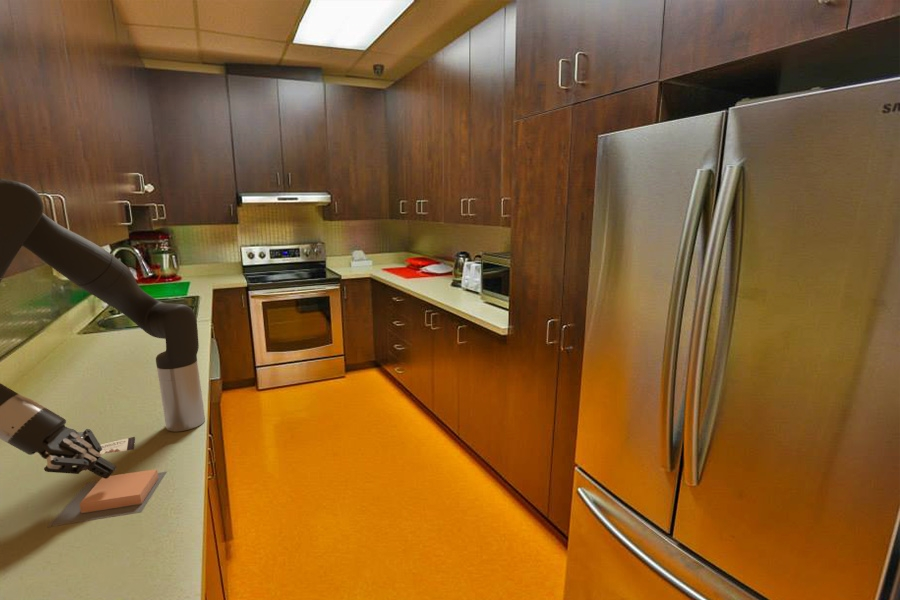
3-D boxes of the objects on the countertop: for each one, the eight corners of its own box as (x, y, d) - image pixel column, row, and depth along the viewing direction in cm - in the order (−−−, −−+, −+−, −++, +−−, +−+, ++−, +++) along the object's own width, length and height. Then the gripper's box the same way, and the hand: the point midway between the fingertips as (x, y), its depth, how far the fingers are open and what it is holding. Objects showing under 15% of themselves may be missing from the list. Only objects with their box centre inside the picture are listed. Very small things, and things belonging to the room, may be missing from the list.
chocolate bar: (79, 483, 96) (90, 446, 110) (80, 487, 96) (90, 450, 111) (131, 469, 100) (134, 436, 115) (132, 473, 100) (135, 440, 115)
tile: (102, 476, 93) (157, 469, 96) (104, 486, 94) (158, 478, 96) (79, 503, 85) (140, 494, 87) (81, 513, 85) (141, 504, 87)
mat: (87, 486, 95) (87, 482, 95) (167, 474, 99) (167, 471, 99) (48, 530, 82) (47, 527, 82) (141, 515, 85) (141, 512, 85)
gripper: (15, 424, 78) (109, 477, 83) (59, 395, 90) (138, 442, 96) (-15, 457, 77) (81, 508, 83) (33, 423, 90) (114, 469, 95)
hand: (112, 473), depth 89 cm, fingers closed
